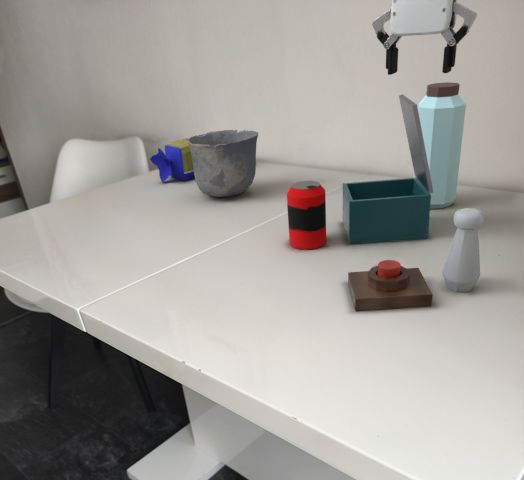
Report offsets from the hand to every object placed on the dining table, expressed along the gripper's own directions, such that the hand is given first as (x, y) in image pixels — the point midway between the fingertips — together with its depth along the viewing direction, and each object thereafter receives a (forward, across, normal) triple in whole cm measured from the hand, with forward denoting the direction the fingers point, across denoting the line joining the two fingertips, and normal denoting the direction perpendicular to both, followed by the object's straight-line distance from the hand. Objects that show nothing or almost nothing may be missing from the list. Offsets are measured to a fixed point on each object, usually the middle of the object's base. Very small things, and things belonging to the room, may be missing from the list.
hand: (418, 72), depth 95 cm
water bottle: (+30, +1, -20) cm, 36 cm away
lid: (+13, +1, -3) cm, 13 cm away
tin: (+30, +6, 0) cm, 30 cm away
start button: (+26, -5, +27) cm, 38 cm away
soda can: (+30, +18, +11) cm, 36 cm away
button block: (+30, -5, +27) cm, 40 cm away
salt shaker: (+30, -15, +20) cm, 39 cm away
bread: (+30, +76, -28) cm, 86 cm away
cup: (+30, +53, -12) cm, 62 cm away
